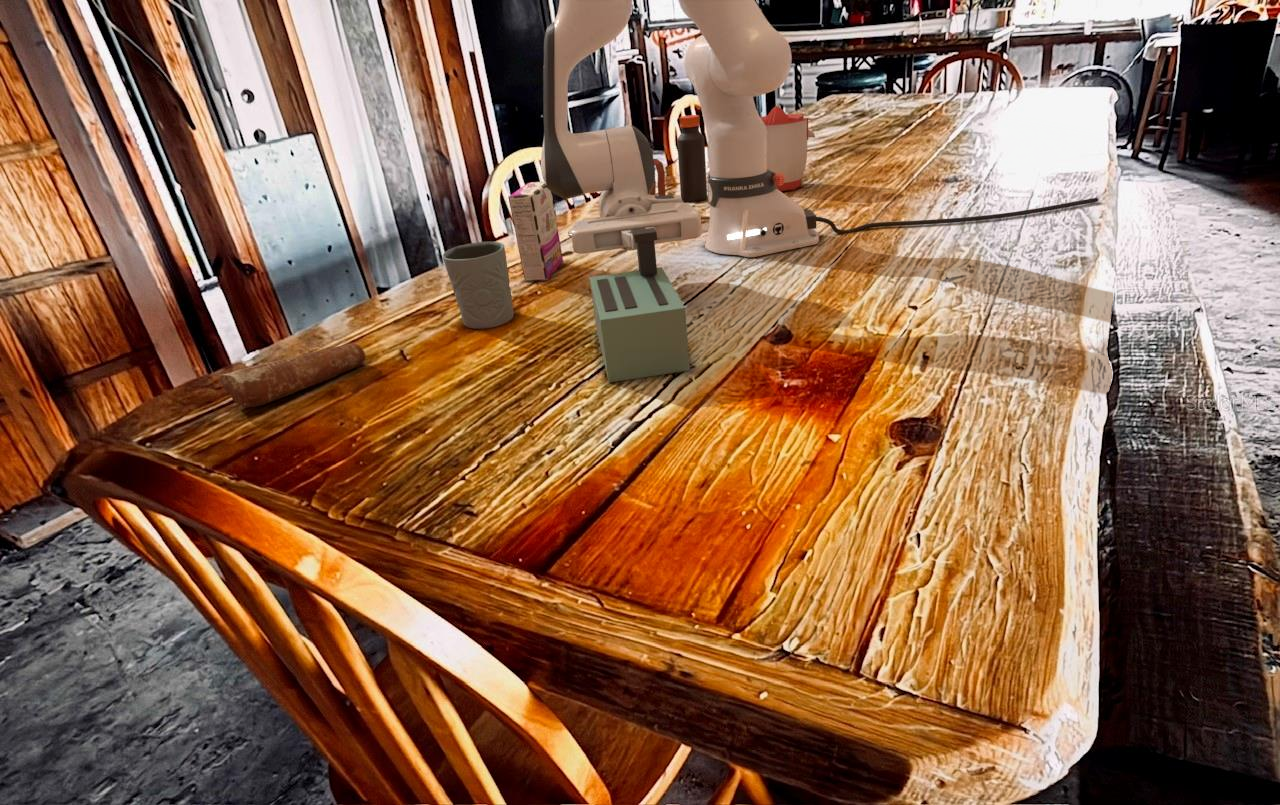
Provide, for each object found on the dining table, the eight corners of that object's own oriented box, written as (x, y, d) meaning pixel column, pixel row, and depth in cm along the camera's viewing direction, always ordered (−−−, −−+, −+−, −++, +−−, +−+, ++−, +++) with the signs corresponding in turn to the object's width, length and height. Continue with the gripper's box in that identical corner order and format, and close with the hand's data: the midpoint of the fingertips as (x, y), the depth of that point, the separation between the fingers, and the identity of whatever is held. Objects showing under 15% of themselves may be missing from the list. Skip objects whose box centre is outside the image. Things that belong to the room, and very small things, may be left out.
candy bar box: (540, 263, 145) (527, 182, 137) (564, 262, 144) (551, 180, 136) (522, 282, 135) (506, 195, 127) (547, 281, 134) (532, 194, 126)
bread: (229, 406, 99) (214, 370, 96) (360, 359, 109) (349, 325, 107) (242, 420, 94) (227, 383, 92) (377, 369, 105) (366, 335, 102)
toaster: (666, 322, 110) (661, 265, 106) (689, 370, 94) (685, 306, 90) (596, 332, 109) (589, 275, 105) (608, 382, 94) (600, 318, 89)
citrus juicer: (820, 190, 176) (822, 105, 167) (750, 197, 177) (749, 112, 168) (807, 178, 190) (809, 98, 181) (743, 184, 191) (741, 105, 182)
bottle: (711, 196, 183) (708, 114, 173) (699, 202, 178) (695, 118, 168) (689, 195, 186) (683, 114, 177) (676, 201, 181) (670, 119, 172)
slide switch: (657, 269, 104) (653, 227, 101) (660, 274, 102) (656, 231, 99) (636, 272, 104) (631, 230, 101) (638, 277, 102) (634, 234, 99)
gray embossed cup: (489, 334, 113) (474, 261, 107) (445, 326, 118) (428, 256, 112) (530, 311, 120) (517, 242, 115) (486, 305, 125) (472, 238, 120)
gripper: (564, 210, 113) (568, 231, 101) (689, 193, 114) (708, 212, 102) (570, 248, 116) (575, 273, 104) (691, 232, 117) (710, 255, 105)
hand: (642, 243), depth 103 cm, fingers closed
